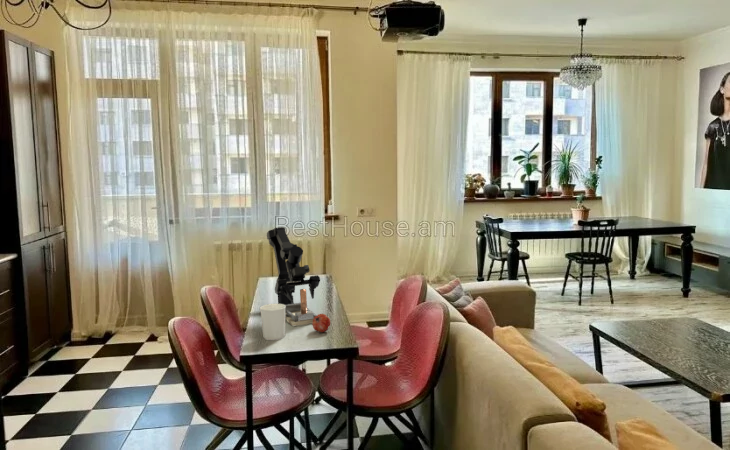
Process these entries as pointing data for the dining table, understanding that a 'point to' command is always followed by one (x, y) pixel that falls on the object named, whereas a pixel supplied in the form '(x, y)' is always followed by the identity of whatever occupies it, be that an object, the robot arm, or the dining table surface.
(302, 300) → the press jaw
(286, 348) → the dining table surface
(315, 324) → the pomegranate
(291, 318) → the press frame
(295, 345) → the dining table surface
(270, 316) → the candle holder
